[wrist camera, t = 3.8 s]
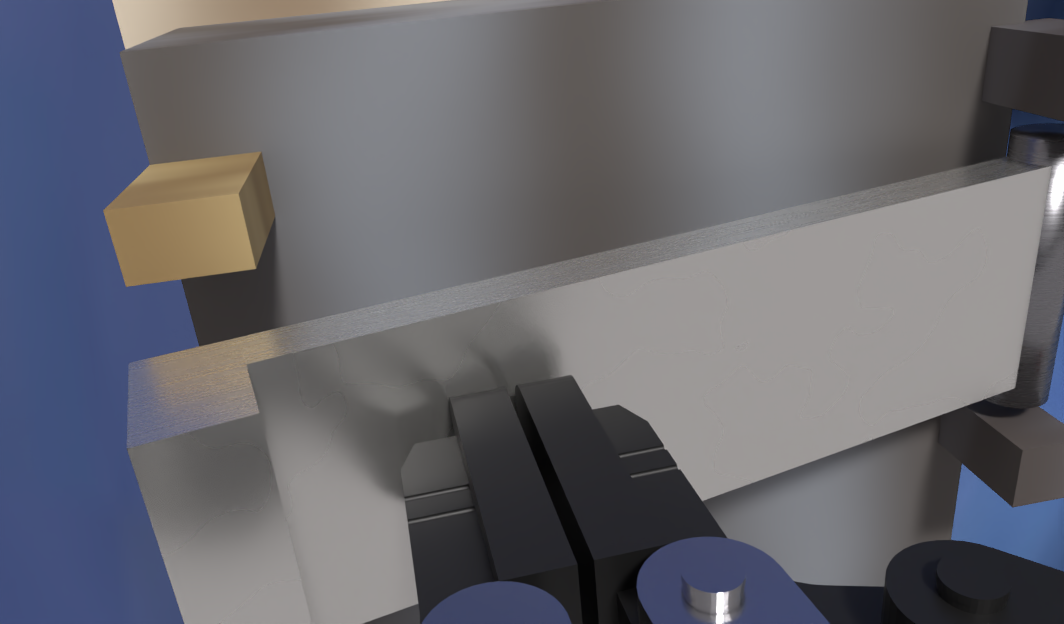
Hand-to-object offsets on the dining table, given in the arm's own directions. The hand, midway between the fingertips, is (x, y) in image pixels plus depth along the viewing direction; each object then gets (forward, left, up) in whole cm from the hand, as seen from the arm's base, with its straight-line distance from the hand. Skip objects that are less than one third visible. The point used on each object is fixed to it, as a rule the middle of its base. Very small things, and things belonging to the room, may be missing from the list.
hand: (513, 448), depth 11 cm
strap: (-3, 0, -2) cm, 3 cm away
